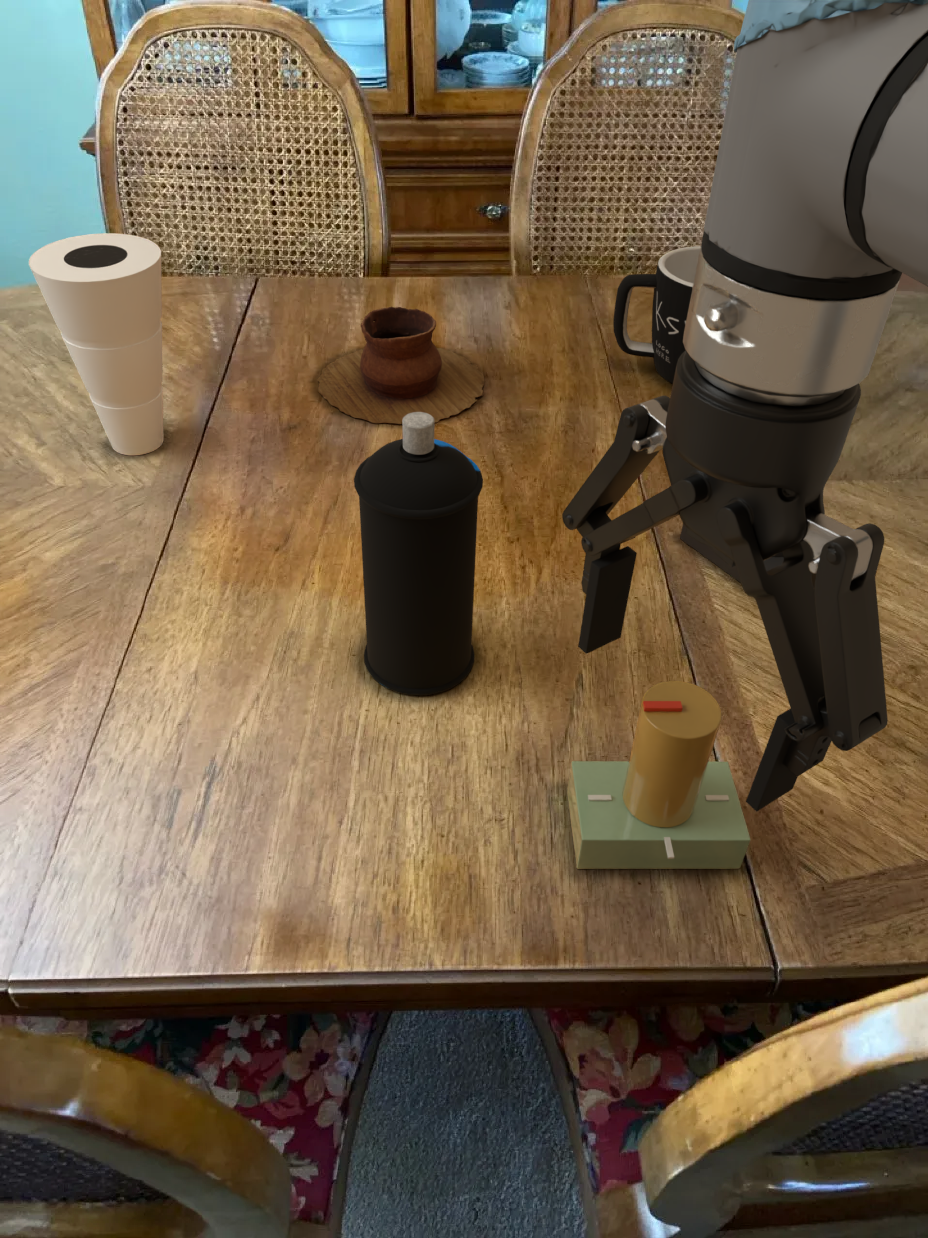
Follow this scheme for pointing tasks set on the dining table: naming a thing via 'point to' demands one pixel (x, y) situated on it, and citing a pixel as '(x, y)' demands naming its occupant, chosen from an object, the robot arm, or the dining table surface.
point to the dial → (670, 752)
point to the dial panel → (632, 844)
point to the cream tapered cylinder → (111, 328)
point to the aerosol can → (418, 559)
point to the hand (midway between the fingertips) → (677, 713)
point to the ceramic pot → (400, 372)
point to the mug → (660, 309)
